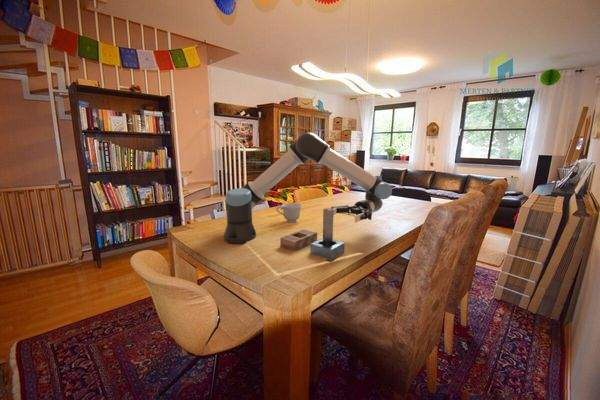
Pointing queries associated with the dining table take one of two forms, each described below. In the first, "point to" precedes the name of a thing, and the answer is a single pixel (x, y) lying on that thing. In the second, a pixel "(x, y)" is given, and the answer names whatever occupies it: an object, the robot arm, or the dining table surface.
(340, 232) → the dining table surface
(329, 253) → the socket block
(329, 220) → the grey brown square post
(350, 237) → the dining table surface
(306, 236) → the brown rectangular block
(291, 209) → the teacup
